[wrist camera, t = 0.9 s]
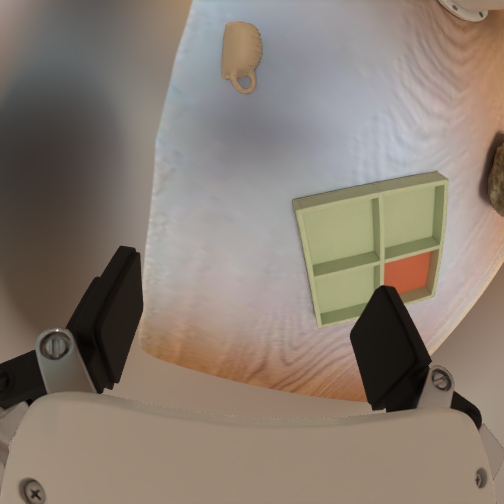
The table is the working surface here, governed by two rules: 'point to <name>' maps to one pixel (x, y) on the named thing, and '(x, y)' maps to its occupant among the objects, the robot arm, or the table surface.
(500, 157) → the stone
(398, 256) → the grid
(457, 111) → the table surface
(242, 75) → the decorative ornament
